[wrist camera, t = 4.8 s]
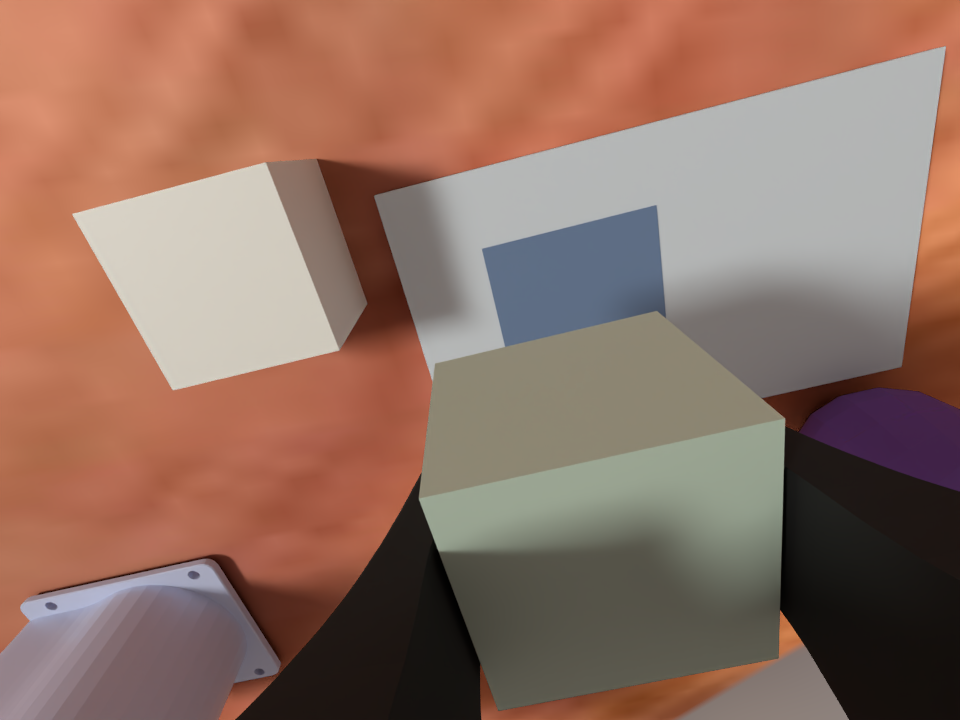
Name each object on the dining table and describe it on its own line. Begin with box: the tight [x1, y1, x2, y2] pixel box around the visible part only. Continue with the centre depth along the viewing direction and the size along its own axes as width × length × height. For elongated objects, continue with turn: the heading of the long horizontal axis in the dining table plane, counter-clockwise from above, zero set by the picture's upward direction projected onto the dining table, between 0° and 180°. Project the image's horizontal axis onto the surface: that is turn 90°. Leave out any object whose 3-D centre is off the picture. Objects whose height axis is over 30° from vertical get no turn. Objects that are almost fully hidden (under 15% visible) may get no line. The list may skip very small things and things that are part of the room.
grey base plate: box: [374, 46, 946, 398], centre depth 17 cm, size 18×11×1 cm, turn 104°
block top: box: [72, 159, 367, 390], centre depth 15 cm, size 5×5×4 cm
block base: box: [419, 311, 785, 711], centre depth 9 cm, size 5×5×4 cm
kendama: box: [799, 388, 960, 491], centre depth 20 cm, size 6×6×20 cm
